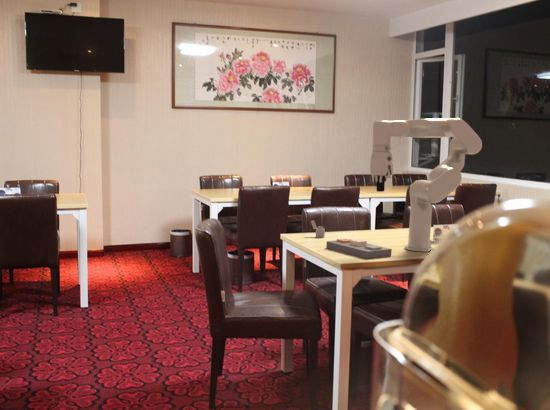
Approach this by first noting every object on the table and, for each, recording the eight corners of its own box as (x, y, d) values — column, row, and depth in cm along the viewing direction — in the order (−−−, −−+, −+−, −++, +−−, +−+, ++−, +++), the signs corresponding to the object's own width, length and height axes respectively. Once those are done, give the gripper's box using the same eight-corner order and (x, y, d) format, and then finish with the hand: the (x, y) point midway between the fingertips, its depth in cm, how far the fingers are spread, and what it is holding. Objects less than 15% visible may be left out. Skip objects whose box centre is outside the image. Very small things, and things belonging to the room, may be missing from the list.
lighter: (324, 237, 294) (325, 221, 293) (323, 237, 293) (324, 221, 292) (311, 235, 297) (312, 219, 296) (309, 236, 296) (310, 220, 295)
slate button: (372, 252, 254) (373, 245, 254) (381, 254, 250) (381, 247, 250) (364, 253, 251) (364, 246, 251) (372, 255, 247) (373, 248, 247)
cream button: (358, 246, 261) (358, 239, 261) (366, 247, 257) (366, 241, 257) (350, 246, 258) (350, 240, 258) (357, 248, 254) (358, 241, 254)
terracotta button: (344, 245, 269) (345, 238, 268) (352, 246, 265) (352, 240, 264) (336, 245, 266) (336, 239, 266) (343, 247, 262) (344, 241, 262)
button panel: (349, 245, 273) (350, 239, 272) (391, 256, 252) (391, 249, 251) (326, 247, 265) (326, 241, 264) (367, 258, 244) (367, 251, 243)
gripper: (400, 149, 254) (399, 192, 256) (375, 148, 266) (374, 189, 268) (387, 149, 249) (386, 193, 252) (363, 149, 262) (362, 190, 264)
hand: (380, 191), depth 260 cm, fingers closed
